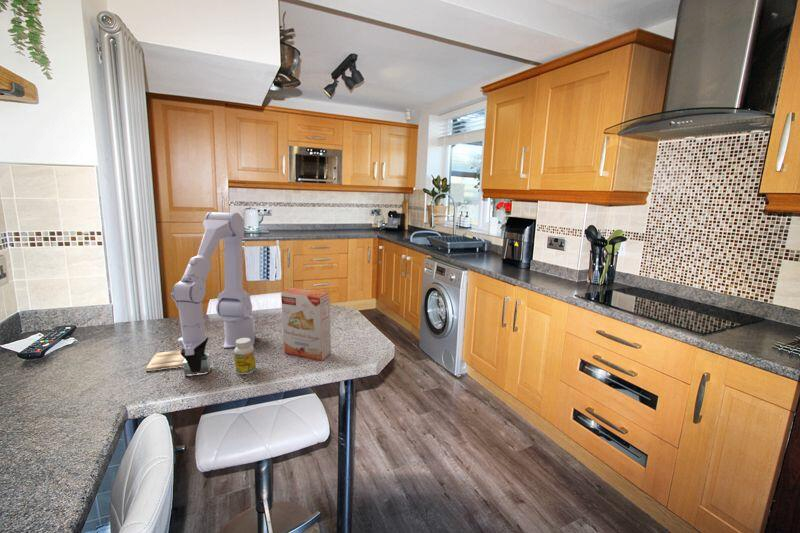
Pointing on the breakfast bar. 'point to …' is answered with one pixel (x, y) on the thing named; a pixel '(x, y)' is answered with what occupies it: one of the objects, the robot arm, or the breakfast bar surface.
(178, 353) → the plate
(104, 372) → the breakfast bar surface
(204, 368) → the housing
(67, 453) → the breakfast bar surface
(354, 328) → the breakfast bar surface
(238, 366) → the supplement bottle
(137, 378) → the breakfast bar surface
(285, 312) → the cracker box
